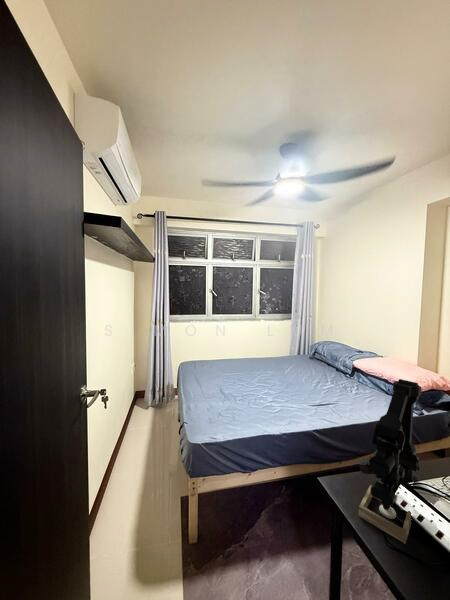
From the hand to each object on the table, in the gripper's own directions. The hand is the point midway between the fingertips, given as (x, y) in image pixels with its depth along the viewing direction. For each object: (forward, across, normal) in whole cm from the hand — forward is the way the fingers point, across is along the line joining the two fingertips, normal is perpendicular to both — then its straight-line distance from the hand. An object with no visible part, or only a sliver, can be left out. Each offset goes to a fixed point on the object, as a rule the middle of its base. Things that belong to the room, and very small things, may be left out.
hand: (387, 503), depth 86 cm
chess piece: (+3, 0, 0) cm, 3 cm away
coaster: (+3, -7, -3) cm, 8 cm away
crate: (+3, +2, 0) cm, 3 cm away
